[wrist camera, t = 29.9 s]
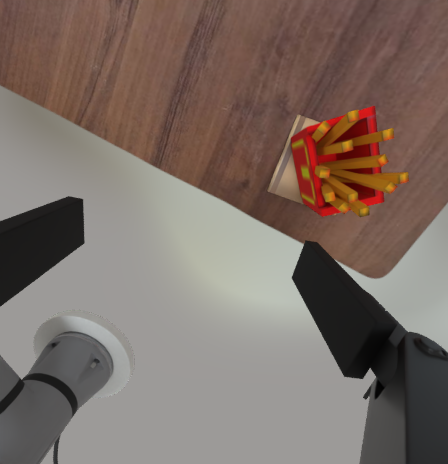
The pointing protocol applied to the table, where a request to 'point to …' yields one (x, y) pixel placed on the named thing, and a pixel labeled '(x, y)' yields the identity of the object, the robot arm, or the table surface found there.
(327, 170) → the french fries container
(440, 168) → the table surface
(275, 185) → the wooden coaster
